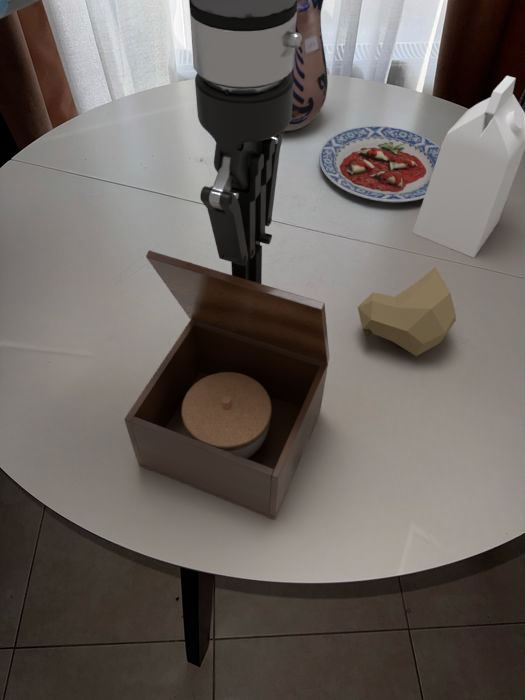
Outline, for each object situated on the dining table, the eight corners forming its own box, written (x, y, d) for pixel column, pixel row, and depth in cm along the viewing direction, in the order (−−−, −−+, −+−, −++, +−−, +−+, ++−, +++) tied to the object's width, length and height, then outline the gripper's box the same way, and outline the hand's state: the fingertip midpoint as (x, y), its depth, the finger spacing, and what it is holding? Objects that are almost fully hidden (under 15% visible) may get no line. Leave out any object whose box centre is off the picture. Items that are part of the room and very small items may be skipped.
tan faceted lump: (458, 324, 90) (414, 264, 90) (491, 310, 79) (440, 243, 80) (382, 379, 88) (338, 318, 89) (405, 374, 77) (354, 304, 78)
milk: (439, 199, 109) (481, 58, 89) (498, 221, 105) (556, 79, 85) (412, 232, 103) (451, 89, 83) (474, 258, 99) (530, 113, 79)
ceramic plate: (411, 228, 104) (415, 215, 102) (293, 177, 113) (294, 164, 111) (470, 163, 117) (474, 150, 115) (359, 122, 127) (361, 109, 124)
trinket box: (178, 473, 72) (170, 433, 64) (195, 402, 78) (190, 358, 71) (264, 483, 71) (266, 444, 64) (274, 410, 78) (276, 368, 71)
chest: (275, 520, 69) (278, 478, 61) (138, 465, 73) (123, 419, 65) (320, 412, 79) (328, 363, 70) (197, 369, 83) (191, 318, 75)
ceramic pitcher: (334, 136, 123) (350, 8, 104) (238, 150, 119) (235, 19, 100) (309, 97, 134) (318, -27, 114) (219, 108, 130) (214, -18, 111)
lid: (322, 310, 54) (324, 302, 54) (145, 256, 58) (148, 249, 58) (327, 363, 70) (329, 357, 70) (189, 319, 74) (192, 313, 74)
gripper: (257, 123, 39) (256, 347, 57) (319, 45, 47) (300, 264, 65) (158, 100, 41) (187, 325, 59) (234, 29, 48) (239, 247, 67)
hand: (247, 293), depth 62 cm, fingers closed
